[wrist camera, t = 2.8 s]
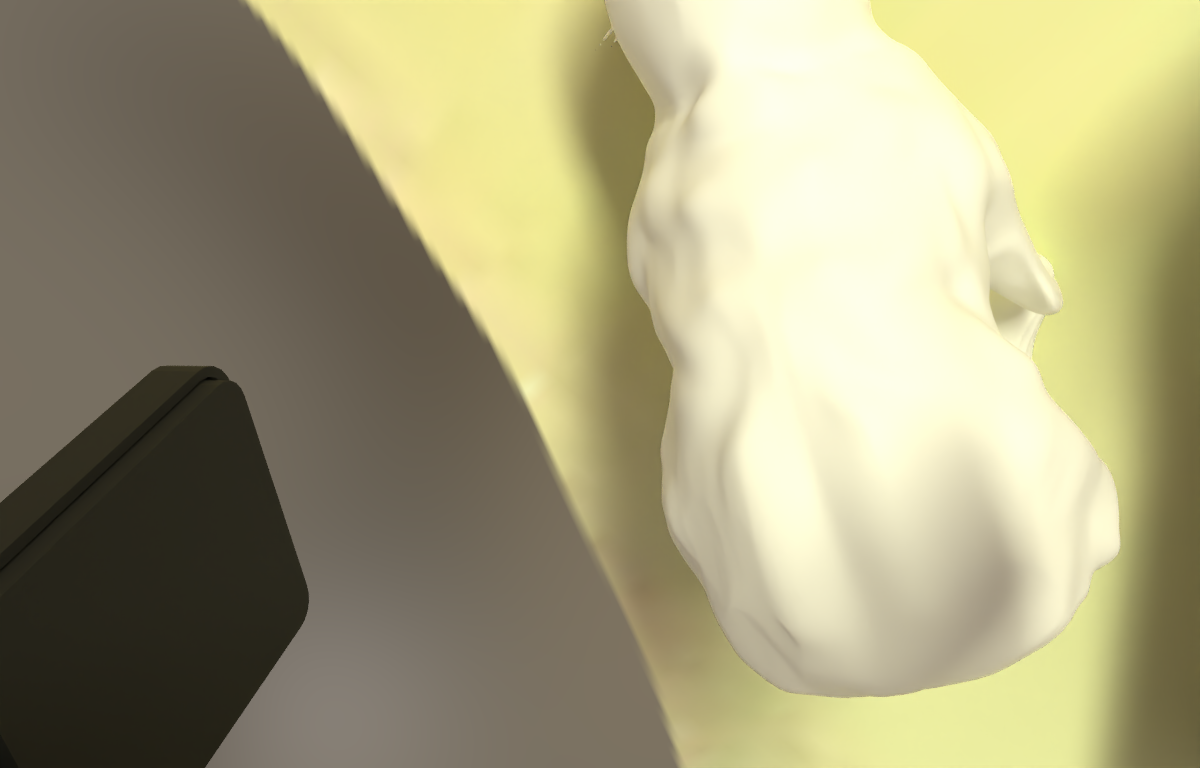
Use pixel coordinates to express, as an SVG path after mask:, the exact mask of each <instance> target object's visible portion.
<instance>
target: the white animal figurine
mask: <svg viewBox="0 0 1200 768" xmlns="http://www.w3.org/2000/svg"><path fill="white" fill-rule="evenodd" d="M605 5H606V9H607V13H608V16H609V19H610V23H611V25H612V27H611V29H610V30H609V31H608V32H607V33H606V35H605V36H604V38H603V41H604V40H606V39H607V37H608V36H609V35H610V34H611V33H612V31H614V33H615V36H616V38H615V40H614V42H617V40H618V43H619V45H620V47H621V49H622V51H623V52H624V54H625V56H626V58H627V60H628V61H629V63H630V65H631V66H632V68H633V70H634V71H635V73H636V74H637V76H638V78H639V79H640V81H641V83H642V85H643V86H644V88H645V90H646V91H647V93H648V94H649V96H650V98H651V100H652V102H653V104H654V108H655V124H654V129H653V132H652V134H651V136H650V139H649V141H648V144H647V147H646V153H645V162H644V168H643V173H642V177H641V180H640V184H639V187H638V190H637V193H636V196H635V199H634V202H633V205H632V208H631V212H630V216H629V221H628V229H627V262H628V269H629V273H630V277H631V280H632V282H633V284H634V286H635V288H636V290H637V292H638V293H639V295H640V296H641V297H642V299H643V300H644V302H645V303H646V304H647V306H648V307H649V309H650V311H651V317H652V322H653V325H654V329H655V332H656V334H657V337H658V339H659V341H660V342H661V344H662V346H663V347H664V349H665V352H666V354H667V356H668V359H669V361H670V363H671V365H672V367H673V376H672V382H671V390H670V402H669V407H668V412H667V418H666V423H665V428H664V433H663V437H662V442H661V463H662V505H663V510H664V515H665V519H666V523H667V528H668V531H669V534H670V536H671V538H672V540H673V542H674V544H675V546H676V547H677V549H678V551H679V552H680V554H681V555H682V557H683V559H684V560H685V562H686V563H687V565H688V566H689V567H690V569H691V570H692V571H693V572H694V574H695V575H696V577H697V578H698V580H699V581H700V583H701V584H702V586H703V588H704V590H705V592H706V595H707V597H708V600H709V603H710V606H711V608H712V611H713V613H714V615H715V618H716V620H717V622H718V624H719V626H720V627H721V629H722V631H723V632H724V634H725V636H726V638H727V639H728V641H729V642H730V644H731V646H732V647H733V649H734V650H735V652H736V653H737V654H738V656H739V657H740V658H741V659H742V660H743V661H744V662H745V663H746V664H747V665H748V666H749V667H750V668H752V669H753V670H754V671H755V672H756V673H758V674H759V675H760V676H762V677H763V678H764V679H766V680H767V681H768V682H770V683H771V684H773V685H774V686H776V687H778V688H779V689H781V690H784V691H786V692H790V693H797V694H807V695H818V696H827V697H837V698H850V697H866V696H874V697H888V696H895V695H904V694H909V693H914V692H917V691H921V690H924V689H930V688H936V687H942V686H946V685H951V684H957V683H961V682H966V681H970V680H975V679H979V678H982V677H986V676H989V675H991V674H994V673H996V672H999V671H1001V670H1003V669H1005V668H1007V667H1009V666H1011V665H1013V664H1014V663H1016V662H1018V661H1020V660H1021V659H1023V658H1025V657H1026V656H1028V655H1030V654H1032V653H1033V652H1035V651H1037V650H1039V649H1040V648H1042V647H1044V646H1045V645H1047V644H1048V643H1050V642H1051V641H1052V640H1053V639H1055V638H1056V637H1057V636H1058V635H1059V634H1060V633H1061V632H1062V631H1063V630H1064V629H1065V627H1066V626H1067V625H1068V624H1069V622H1070V621H1071V619H1072V617H1073V615H1074V613H1075V611H1076V609H1077V608H1078V607H1079V605H1080V604H1081V603H1082V602H1083V600H1084V599H1085V598H1086V596H1087V594H1088V592H1089V588H1090V582H1091V578H1092V575H1093V573H1094V571H1095V570H1097V569H1099V568H1101V567H1103V566H1105V565H1106V564H1108V563H1109V562H1111V561H1112V560H1113V559H1114V558H1115V557H1116V556H1117V555H1118V553H1119V550H1120V533H1119V506H1118V497H1117V491H1116V487H1115V483H1114V480H1113V477H1112V475H1111V472H1110V470H1109V469H1108V467H1107V466H1106V464H1105V463H1104V462H1103V461H1102V460H1101V459H1100V458H1099V457H1098V454H1097V452H1096V450H1095V449H1094V447H1093V446H1092V444H1091V443H1090V441H1089V440H1088V439H1087V438H1086V436H1085V435H1084V434H1083V433H1082V431H1081V430H1080V429H1079V428H1078V426H1077V425H1076V424H1075V423H1074V422H1073V420H1072V419H1071V418H1070V417H1069V416H1068V415H1067V414H1066V413H1065V412H1064V411H1063V410H1062V409H1061V408H1060V407H1059V406H1058V405H1057V404H1056V402H1055V401H1054V400H1053V399H1052V398H1051V396H1050V395H1049V394H1048V392H1047V390H1046V388H1045V386H1044V383H1043V380H1042V377H1041V374H1040V372H1039V369H1038V367H1037V366H1036V364H1035V363H1034V361H1033V360H1032V352H1033V347H1034V342H1035V338H1036V336H1037V332H1038V330H1039V328H1040V325H1041V323H1042V320H1043V319H1044V317H1045V315H1053V314H1055V313H1057V312H1059V311H1060V310H1061V309H1062V307H1063V297H1062V293H1061V290H1060V288H1059V285H1058V283H1057V281H1056V280H1055V279H1054V271H1053V267H1052V265H1051V263H1050V262H1049V261H1048V260H1047V258H1045V257H1044V256H1043V255H1040V254H1038V253H1037V251H1036V249H1035V247H1034V245H1033V243H1032V240H1031V238H1030V236H1029V234H1028V232H1027V229H1026V227H1025V225H1024V223H1023V221H1022V219H1021V216H1020V213H1019V210H1018V207H1017V203H1016V199H1015V194H1014V188H1013V184H1012V180H1011V176H1010V173H1009V171H1008V168H1007V166H1006V164H1005V162H1004V159H1003V158H1002V156H1001V152H1000V150H999V147H998V145H997V143H996V141H995V139H994V138H993V136H992V135H991V133H990V132H989V131H988V130H987V128H986V127H985V126H984V125H983V124H982V123H981V122H980V121H979V120H978V119H976V118H975V117H974V116H973V115H972V114H971V113H970V112H969V111H968V110H967V109H966V108H965V107H964V106H963V105H962V103H961V102H960V101H959V100H958V99H957V98H956V97H955V96H954V95H953V94H952V93H951V92H950V91H949V90H948V89H947V88H946V87H945V85H944V84H943V83H942V82H941V81H940V80H939V79H938V78H937V76H936V75H935V74H934V73H933V71H932V70H931V69H930V68H929V66H928V65H927V64H926V62H925V61H924V60H923V59H922V58H921V57H920V56H919V55H918V54H917V53H915V52H914V51H913V50H911V49H910V48H908V47H906V46H905V45H903V44H901V43H898V42H896V41H895V40H893V39H891V38H890V37H889V36H887V35H886V34H885V33H884V32H883V31H882V30H881V29H880V28H879V27H878V26H877V24H876V23H875V21H874V18H873V15H872V10H871V4H870V0H605ZM600 45H602V44H600ZM611 47H612V46H611Z"/></svg>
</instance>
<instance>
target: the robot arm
mask: <svg viewBox="0 0 1200 768" xmlns="http://www.w3.org/2000/svg"><path fill="white" fill-rule="evenodd" d="M308 603H309V595H308V588H307V585H306V581H305V578H304V575H303V572H302V569H301V566H300V563H299V560H298V557H297V554H296V551H295V548H294V545H293V542H292V539H291V536H290V533H289V530H288V527H287V524H286V520H285V518H284V514H283V511H282V509H281V505H280V502H279V499H278V496H277V493H276V490H275V487H274V484H273V481H272V478H271V475H270V472H269V469H268V466H267V463H266V460H265V457H264V454H263V451H262V447H261V445H260V441H259V438H258V435H257V432H256V429H255V426H254V423H253V420H252V417H251V414H250V411H249V408H248V405H247V402H246V399H245V396H244V394H243V392H242V390H241V388H240V387H239V386H238V385H237V383H235V382H232V381H229V379H228V377H227V375H226V374H225V373H224V372H223V371H222V370H220V369H219V368H216V367H214V366H160V367H158V368H156V369H155V370H153V371H151V372H150V373H149V374H148V375H147V376H146V377H144V378H143V379H142V380H141V381H140V382H139V383H137V384H136V385H135V386H134V387H133V388H132V389H131V390H129V391H128V392H127V393H126V394H125V395H124V396H123V397H121V398H120V399H119V400H118V401H117V402H116V403H115V404H113V405H112V406H111V407H110V408H109V409H108V410H107V411H105V412H104V413H103V414H102V415H101V416H100V417H98V418H97V419H96V420H95V421H94V422H93V423H91V424H90V426H88V427H87V428H86V429H85V430H84V431H82V432H81V433H80V434H79V435H78V436H77V437H75V438H74V439H73V440H72V441H71V442H70V443H69V444H67V445H66V446H65V447H64V448H63V449H62V450H60V451H59V452H58V453H57V454H56V455H55V456H54V457H53V458H51V459H50V460H49V461H48V462H47V463H46V464H44V465H43V466H42V467H41V468H40V469H39V470H37V471H36V472H35V473H34V474H33V475H32V476H31V477H29V478H28V479H27V480H26V481H25V482H24V483H22V484H21V485H20V486H19V487H18V488H17V489H16V490H14V491H13V492H12V493H11V494H10V495H9V496H8V497H6V498H5V499H4V500H3V501H2V502H1V503H0V768H205V767H206V765H207V764H208V762H209V761H210V759H211V758H212V756H213V755H214V753H215V752H216V750H217V749H218V748H219V746H220V745H221V743H222V742H223V740H224V739H225V737H226V736H227V734H228V733H229V731H230V730H231V729H232V727H233V726H234V724H235V723H236V721H237V720H238V718H239V717H240V715H241V714H242V712H243V711H244V709H245V708H246V707H247V705H248V704H249V702H250V701H251V699H252V698H253V696H254V695H255V693H256V692H257V690H258V689H259V687H260V686H261V684H262V683H263V681H264V680H265V679H266V677H267V676H268V674H269V672H270V671H271V670H272V668H273V667H274V665H275V664H276V662H277V661H278V659H279V658H280V657H281V655H282V653H283V652H284V651H285V649H286V648H287V646H288V645H289V643H290V642H291V640H292V639H293V638H294V636H295V635H296V633H297V632H298V630H299V629H300V627H301V625H302V624H303V622H304V620H305V617H306V614H307V610H308Z"/></svg>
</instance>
